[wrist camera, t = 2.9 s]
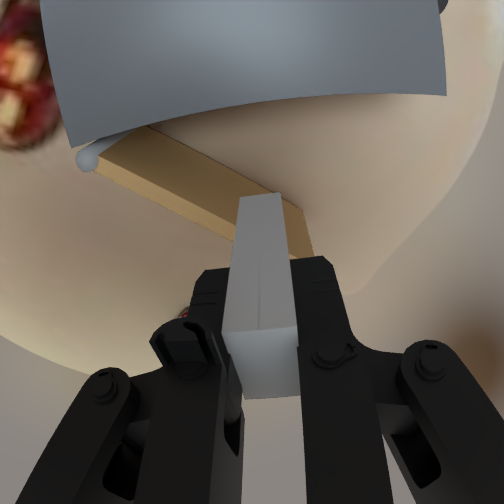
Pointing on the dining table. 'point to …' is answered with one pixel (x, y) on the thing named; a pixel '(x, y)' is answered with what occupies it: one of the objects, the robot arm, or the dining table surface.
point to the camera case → (231, 55)
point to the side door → (184, 182)
